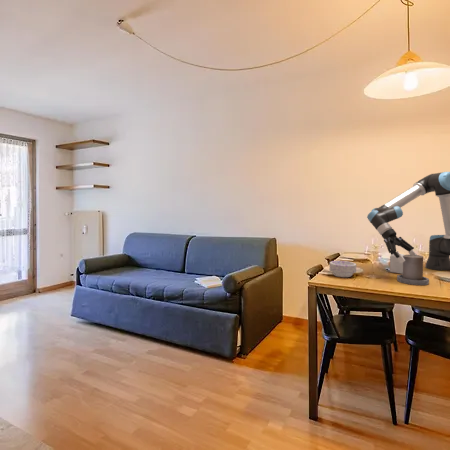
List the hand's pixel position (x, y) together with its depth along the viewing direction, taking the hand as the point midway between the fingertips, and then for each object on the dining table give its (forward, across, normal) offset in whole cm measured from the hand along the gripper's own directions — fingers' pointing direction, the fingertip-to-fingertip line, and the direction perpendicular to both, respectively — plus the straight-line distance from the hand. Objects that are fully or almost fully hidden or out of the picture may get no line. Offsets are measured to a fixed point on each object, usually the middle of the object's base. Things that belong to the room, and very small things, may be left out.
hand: (410, 261), depth 174 cm
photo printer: (-4, -16, -20) cm, 26 cm away
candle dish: (+9, 0, -7) cm, 12 cm away
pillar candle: (+8, 0, -7) cm, 11 cm away
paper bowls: (-11, +23, -28) cm, 37 cm away
